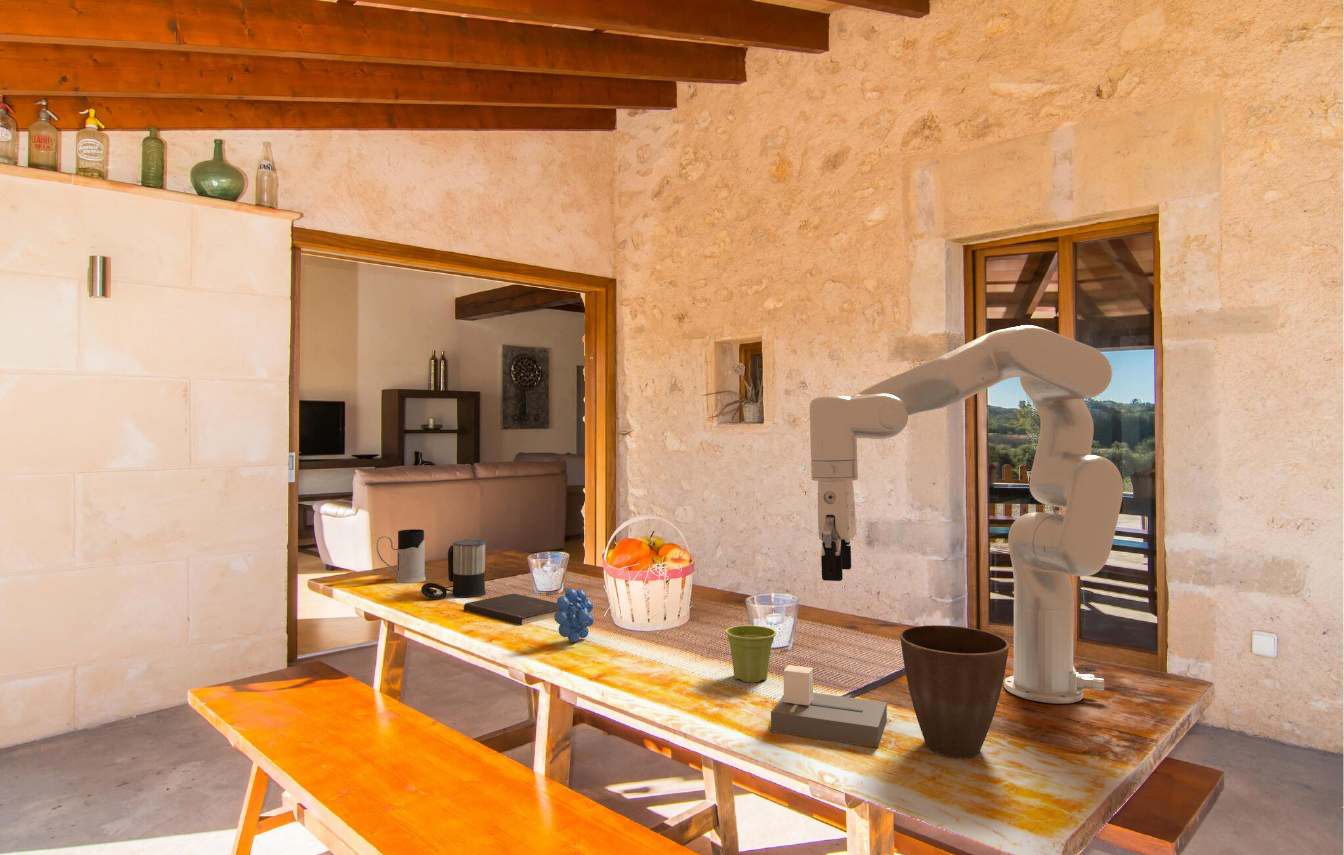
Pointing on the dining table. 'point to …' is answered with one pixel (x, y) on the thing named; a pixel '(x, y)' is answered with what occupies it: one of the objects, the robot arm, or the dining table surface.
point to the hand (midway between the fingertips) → (837, 574)
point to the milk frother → (462, 570)
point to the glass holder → (409, 556)
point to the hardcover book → (514, 608)
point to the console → (832, 719)
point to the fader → (798, 685)
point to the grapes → (574, 614)
